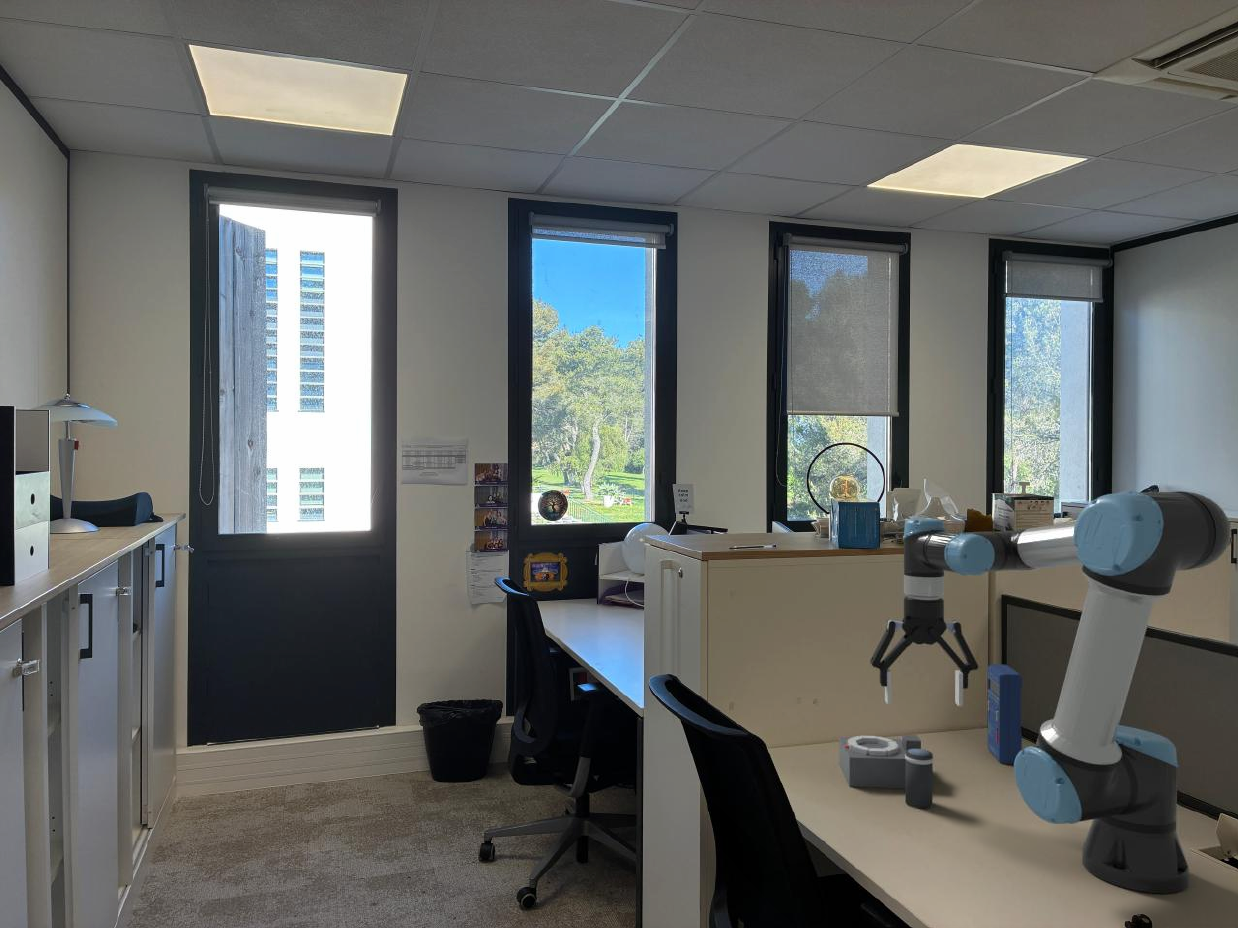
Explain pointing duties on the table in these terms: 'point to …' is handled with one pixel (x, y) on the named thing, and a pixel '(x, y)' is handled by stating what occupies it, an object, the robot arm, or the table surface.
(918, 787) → the lens
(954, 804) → the table surface
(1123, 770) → the robot arm
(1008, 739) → the electronic device
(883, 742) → the camera body
